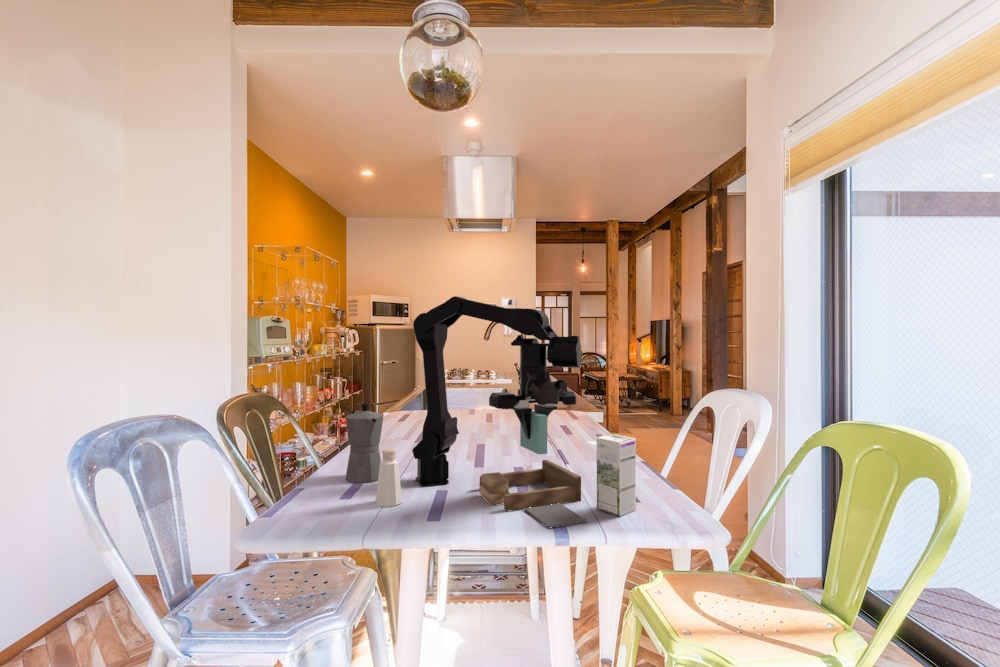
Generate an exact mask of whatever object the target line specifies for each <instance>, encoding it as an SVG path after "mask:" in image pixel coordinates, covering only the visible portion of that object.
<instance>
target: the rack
mask: <svg viewBox="0 0 1000 667" xmlns="http://www.w3.org/2000/svg"><path fill="white" fill-rule="evenodd" d="M541 461H542V462H541V466H542V467H541V468H537V469H536V468H535V469H529V470H519V471H511V472H502V473H501V472H500V473H501V474H502V475H503V476H504V477H505V478H506V479H508V480H509V488H511V487H510V486H515V487H520V486H519V485H523V486H530V485H529V484H531V485H536V484H537V485H540V484H546V485H547V484H548V486H549V485H550V486H549V487H551V488H542V489H536V490H535V489H534V490H527V491H518V492H509V493H510V494H504V504H503V507H504V509H505V510H504V511H506V512H509V511H508V510H512V511H516V510H515V509H519V510H523V509H522V508H529V507H538V506H545V505H551V504H558V503H561V504H566V503H565V502H567V503H573V501H574V502H581V501H582V476H580V475H579V474H576V473H575V472H572V471H571V470H568V469H567V468H564V467H562V466H560V465H558V464H556V463H554V462H552V461H550V460H548V459H542V460H541ZM544 482H545V483H544ZM480 485H482V475H479V486H480Z"/></svg>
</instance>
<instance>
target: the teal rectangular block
mask: <svg viewBox="0 0 1000 667" xmlns="http://www.w3.org/2000/svg"><path fill="white" fill-rule="evenodd" d="M519 424H520V433H519V434H520V439H519V440H520V442H519V443H520V444H519V445H520V447H522V448H524V449H527V450H528V451H531V452H533V453H534V454H537V455H548V418H547V415H544V414H541V413H537V412H534V410H532V411H531V414H530V427H531V435H530V439H527V438H526V436H525V433H524V431H523V428H522V426H521V423H520V422H519Z"/></svg>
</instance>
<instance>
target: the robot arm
mask: <svg viewBox="0 0 1000 667" xmlns="http://www.w3.org/2000/svg"><path fill="white" fill-rule="evenodd" d="M462 316H466V317H470V318H475V319H479V320H484V321H488V322H492V323H497V324H500V325H501V324H502V325H503V326H506V327H508V328H509V329H511V330H514V331H516V332H519V333H521V334H517V337H516V338H515V339H514V340H513V341H511V342H510V345H511V346H512V347H513V346H515V347H517V346H519V347H520V348H519V350H520V353H519V355H520V359H519V361H520V362H519V365H520V367H519V369H520V370H517V376H519V388H518V389H517V394H515V393H511V392H506V391H504V392H503V391H501V392H492V393H491V394H490V395H489V398H488V399H489V400H488V402H489V403H488V404H489V406H490V407H493V408H496V409H499V410H500V409H501V410H504V409H506V410H507V409H510V410H513V411H514V414H515V415H516V417H517V419H518V421H519V424H520V423H521V426H522V428H523V431H524V433H525V436H526V438H527V439H530V435H531V427H530V414H531V411H534V412H537V413H541V414H544V415H547V419H548V418H549V416H550V415H551V413H552V412H553V411H554V410H557V409H558V406H556V405H558V404H559V403H560V402H561V403H562V404H563V405H564V406H572V405H577V395H576V393H575V391H573V390H568V382H567V381H566V380H565V379H557V380H556V381H551V375H550V371H547V363H549V364H551V365H552V367H553V368H567V369H568V368H574V369H575V368H577V369H580V368H581V366H582V361H583V350H582V345H581V342H580V338H581V337H580V336H579V335H570V336H558V335H557V333H556V332H555V330H553V328H552V327H551V325H550V320H549V319H550V318H549V316H548V315H547V313H546V312H545V311H543V310H540V309H535V308H534V309H533V308H523V307H522V308H521V307H520V308H519V307H517V308H515V307H513V308H510V307H504V306H503V307H502V306H498V305H493V304H489V303H484V302H479V301H475V300H471V299H467V298H465V297H463V296H457V295H456V296H452V297H451V298H449V299H447V300H446V301H445V302H443V303H441V304H439V305H437V306H435V307H433V308H431V309H430V310H429V311H427V312H423V313H420V314H418V315H417V316H416V318H414V320H413V324H412V325H413V326H412V327H413V332H414V336H415V340H416V342H417V344H418V346H419V347H420V349H421V352H422V359H423V360H422V362H423V373H424V384H425V385H424V387H425V396H426V398H425V399H426V417H425V418H424V423H423V425H422V434H421V435H422V436H421V440H420V441H419V442H418V443H417V444H416V445H415V446H414V447H413V448H412V449H411V451H412V455H413V458H414V459H416V460H417V461H416V462H417V463H416V464H417V472H416V473H417V476H416V477H415V480H416V482H417V483H418V484H419V485H420V487H428V486H436V485H437V486H438V485H446V484H449V482H450V481H449V480H448V479H449V473H450V472H449V470H450V469H449V461H448V460H447V453H449V452H450V449H451V447H452V446H453V445H454V444H455V442H456V440H457V437H458V436H457V435H459V434H460V432H459V429H458V418H457V416H453V417H452V416H451V414H450V412H449V410H448V409H449V408H448V398H447V397H448V396H447V385H446V374H445V371H446V370H445V360H444V348H445V345H446V342H447V340H448V332H449V330H448V329H449V328H450V327H452V326H453V325H454V324H455V323H456V322H457V321H458V320H459V319H460V318H461V317H462ZM522 334H523V335H522ZM524 335H525V336H533V337H534V338H532V337H531V338H529V337H527V338H526V337H524ZM539 341H548V342H549V343H546V342H545V343H544V342H542V343H541V342H539ZM529 404H534V405H533V406H534V407H533V408H534V409H533V408H532V407H531V408H530V407H529Z"/></svg>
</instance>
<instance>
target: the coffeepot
mask: <svg viewBox="0 0 1000 667" xmlns="http://www.w3.org/2000/svg"><path fill="white" fill-rule="evenodd" d="M368 406H369V403H366V402H365V403H362V404H361V410H358V409H353V410H352V411H351V414H346V416H345V425H346V432H347V440H348V445H350V451H349V456H348V462H347V468H346V474H345V481H346V482H349V483H350V484H351V483H353V484H368V483H375V482H378V477H379V467H380V462H381V461H382V459H381V453H380V443H381V434H382V430H383V429H382V428H383V421H384V414H383V413H378V412H375V411H370V410H368Z"/></svg>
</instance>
